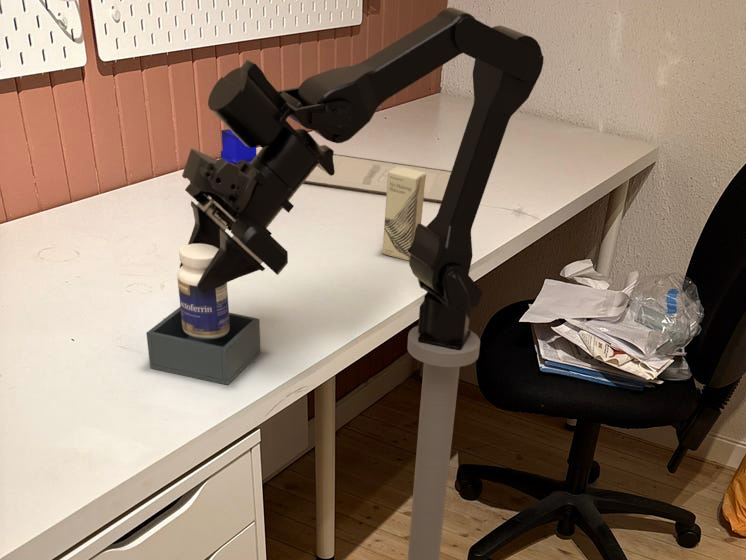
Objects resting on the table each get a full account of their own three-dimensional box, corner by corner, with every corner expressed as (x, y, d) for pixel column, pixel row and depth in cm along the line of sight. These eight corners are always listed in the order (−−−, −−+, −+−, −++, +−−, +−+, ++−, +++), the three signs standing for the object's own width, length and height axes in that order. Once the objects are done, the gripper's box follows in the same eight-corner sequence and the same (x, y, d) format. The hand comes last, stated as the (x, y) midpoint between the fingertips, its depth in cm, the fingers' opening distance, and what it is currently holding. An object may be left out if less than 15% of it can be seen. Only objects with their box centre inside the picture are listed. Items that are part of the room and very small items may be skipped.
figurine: (267, 204, 169) (265, 129, 161) (259, 217, 164) (257, 141, 156) (224, 198, 169) (220, 123, 161) (215, 212, 163) (210, 135, 155)
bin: (260, 352, 125) (259, 318, 122) (227, 385, 117) (225, 349, 114) (187, 337, 125) (184, 302, 123) (150, 368, 118) (145, 332, 115)
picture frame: (463, 173, 197) (319, 152, 197) (464, 172, 197) (319, 151, 196) (454, 204, 181) (297, 182, 180) (454, 203, 180) (297, 180, 180)
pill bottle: (174, 335, 117) (165, 253, 110) (195, 318, 121) (188, 238, 115) (217, 344, 116) (211, 262, 110) (238, 327, 121) (232, 247, 114)
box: (381, 254, 157) (385, 170, 148) (391, 247, 160) (395, 164, 152) (411, 261, 156) (417, 178, 147) (421, 254, 159) (426, 171, 151)
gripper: (194, 102, 111) (112, 208, 113) (257, 148, 100) (164, 265, 102) (261, 170, 120) (184, 267, 122) (326, 220, 109) (239, 326, 111)
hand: (191, 280), depth 114 cm, fingers closed on pill bottle, 6 cm apart
